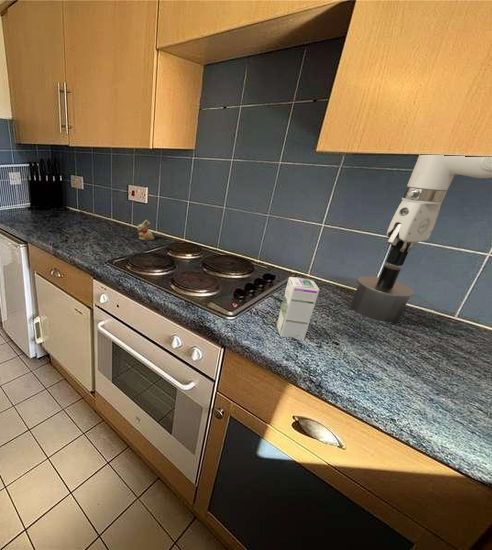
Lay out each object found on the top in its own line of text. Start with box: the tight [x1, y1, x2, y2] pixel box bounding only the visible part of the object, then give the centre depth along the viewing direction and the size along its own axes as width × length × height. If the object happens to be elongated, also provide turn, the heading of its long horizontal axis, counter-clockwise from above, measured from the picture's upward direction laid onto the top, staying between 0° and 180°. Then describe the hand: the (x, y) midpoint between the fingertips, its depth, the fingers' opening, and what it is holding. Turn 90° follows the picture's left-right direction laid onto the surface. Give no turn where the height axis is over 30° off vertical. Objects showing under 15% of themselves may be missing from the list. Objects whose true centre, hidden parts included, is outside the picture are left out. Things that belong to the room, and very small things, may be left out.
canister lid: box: [356, 264, 415, 298], centre depth 84 cm, size 13×13×7 cm
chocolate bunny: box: [136, 219, 155, 241], centre depth 148 cm, size 6×8×10 cm
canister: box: [349, 283, 410, 324], centre depth 87 cm, size 11×11×8 cm
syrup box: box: [276, 276, 320, 340], centre depth 74 cm, size 6×6×14 cm
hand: (393, 263), depth 82 cm, fingers closed
